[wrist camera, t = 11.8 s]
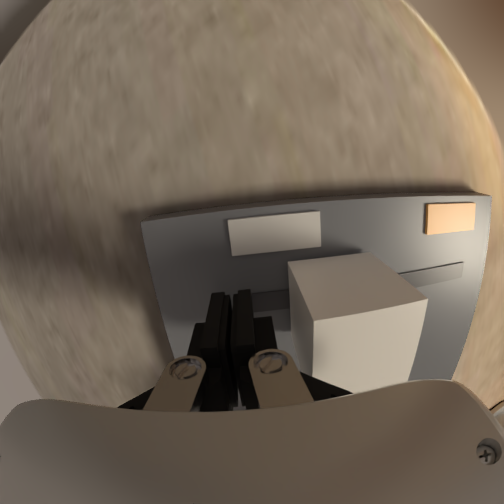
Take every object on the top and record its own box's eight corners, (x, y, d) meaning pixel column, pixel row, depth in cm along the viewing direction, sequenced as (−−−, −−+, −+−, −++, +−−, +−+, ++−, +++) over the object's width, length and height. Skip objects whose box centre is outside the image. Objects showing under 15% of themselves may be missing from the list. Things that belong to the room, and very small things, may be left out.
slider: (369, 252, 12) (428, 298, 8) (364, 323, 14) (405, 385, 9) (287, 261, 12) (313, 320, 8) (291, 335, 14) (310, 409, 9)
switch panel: (476, 192, 13) (493, 196, 12) (430, 398, 19) (438, 409, 17) (150, 215, 13) (138, 223, 12) (212, 441, 19) (211, 456, 17)
